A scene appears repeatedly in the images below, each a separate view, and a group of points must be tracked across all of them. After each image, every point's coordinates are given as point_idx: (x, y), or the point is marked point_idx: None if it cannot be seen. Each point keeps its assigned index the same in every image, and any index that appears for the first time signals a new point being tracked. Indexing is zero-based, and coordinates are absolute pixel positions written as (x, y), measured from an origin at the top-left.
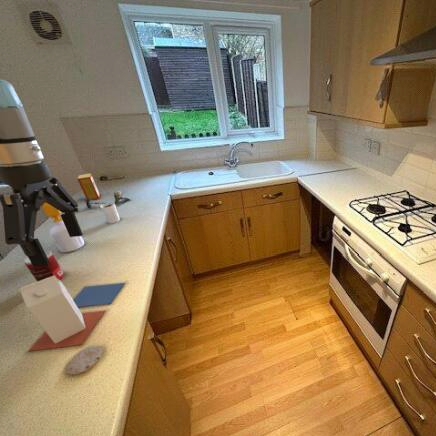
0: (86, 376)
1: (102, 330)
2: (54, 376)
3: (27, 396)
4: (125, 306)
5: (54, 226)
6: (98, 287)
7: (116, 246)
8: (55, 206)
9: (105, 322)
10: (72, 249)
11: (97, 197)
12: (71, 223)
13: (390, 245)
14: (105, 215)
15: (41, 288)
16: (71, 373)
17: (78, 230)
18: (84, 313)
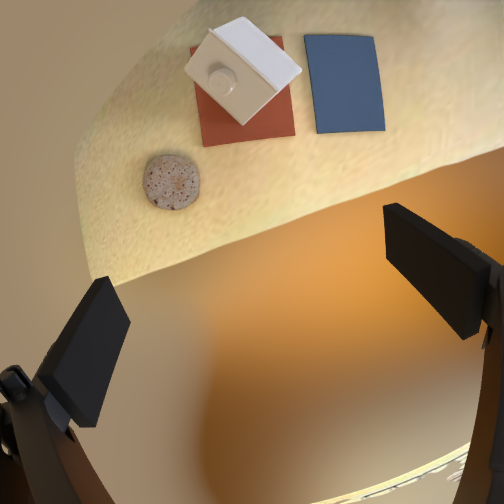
0: (146, 205)
1: (240, 164)
2: (142, 146)
3: (112, 131)
4: (308, 174)
5: None
6: (371, 71)
7: (500, 49)
8: (495, 373)
9: (262, 156)
10: None
11: None
12: (429, 276)
13: (369, 491)
14: None
15: (226, 82)
16: (144, 180)
17: (403, 271)
18: (287, 90)
